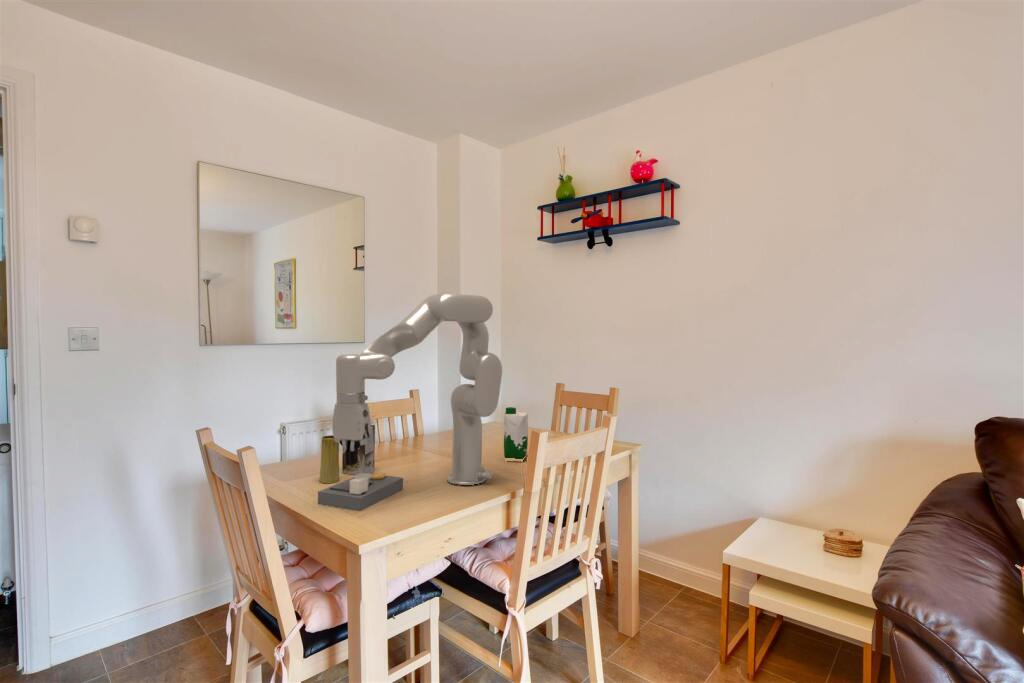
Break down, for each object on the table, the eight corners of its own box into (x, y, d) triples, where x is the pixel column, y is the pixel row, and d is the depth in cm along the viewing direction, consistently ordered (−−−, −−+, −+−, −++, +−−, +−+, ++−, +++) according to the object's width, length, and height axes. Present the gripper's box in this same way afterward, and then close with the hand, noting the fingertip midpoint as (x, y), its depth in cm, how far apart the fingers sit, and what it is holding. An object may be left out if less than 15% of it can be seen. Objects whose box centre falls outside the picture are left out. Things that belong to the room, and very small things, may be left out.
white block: (367, 499, 138) (367, 477, 138) (358, 503, 135) (358, 481, 135) (358, 497, 139) (358, 476, 139) (349, 502, 136) (349, 480, 136)
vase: (342, 478, 163) (342, 435, 162) (336, 483, 156) (336, 438, 156) (323, 478, 162) (324, 434, 162) (316, 483, 156) (317, 438, 156)
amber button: (388, 483, 153) (388, 473, 153) (379, 488, 148) (379, 477, 148) (375, 481, 155) (375, 471, 155) (365, 486, 150) (365, 475, 150)
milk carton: (506, 456, 197) (507, 406, 197) (528, 458, 195) (529, 407, 195) (501, 461, 188) (502, 409, 188) (525, 463, 187) (526, 410, 187)
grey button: (374, 484, 146) (374, 474, 146) (364, 489, 142) (364, 478, 142) (361, 482, 148) (361, 472, 148) (350, 487, 143) (350, 476, 143)
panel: (403, 489, 152) (403, 477, 152) (360, 511, 133) (360, 498, 133) (364, 483, 157) (364, 472, 157) (317, 504, 137) (318, 491, 137)
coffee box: (375, 471, 172) (376, 424, 172) (364, 476, 166) (365, 428, 166) (352, 469, 174) (352, 423, 174) (341, 473, 168) (341, 426, 168)
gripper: (381, 398, 139) (382, 463, 140) (337, 395, 144) (338, 458, 145) (365, 401, 132) (365, 470, 132) (319, 399, 137) (320, 465, 138)
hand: (351, 464), depth 139 cm, fingers closed
